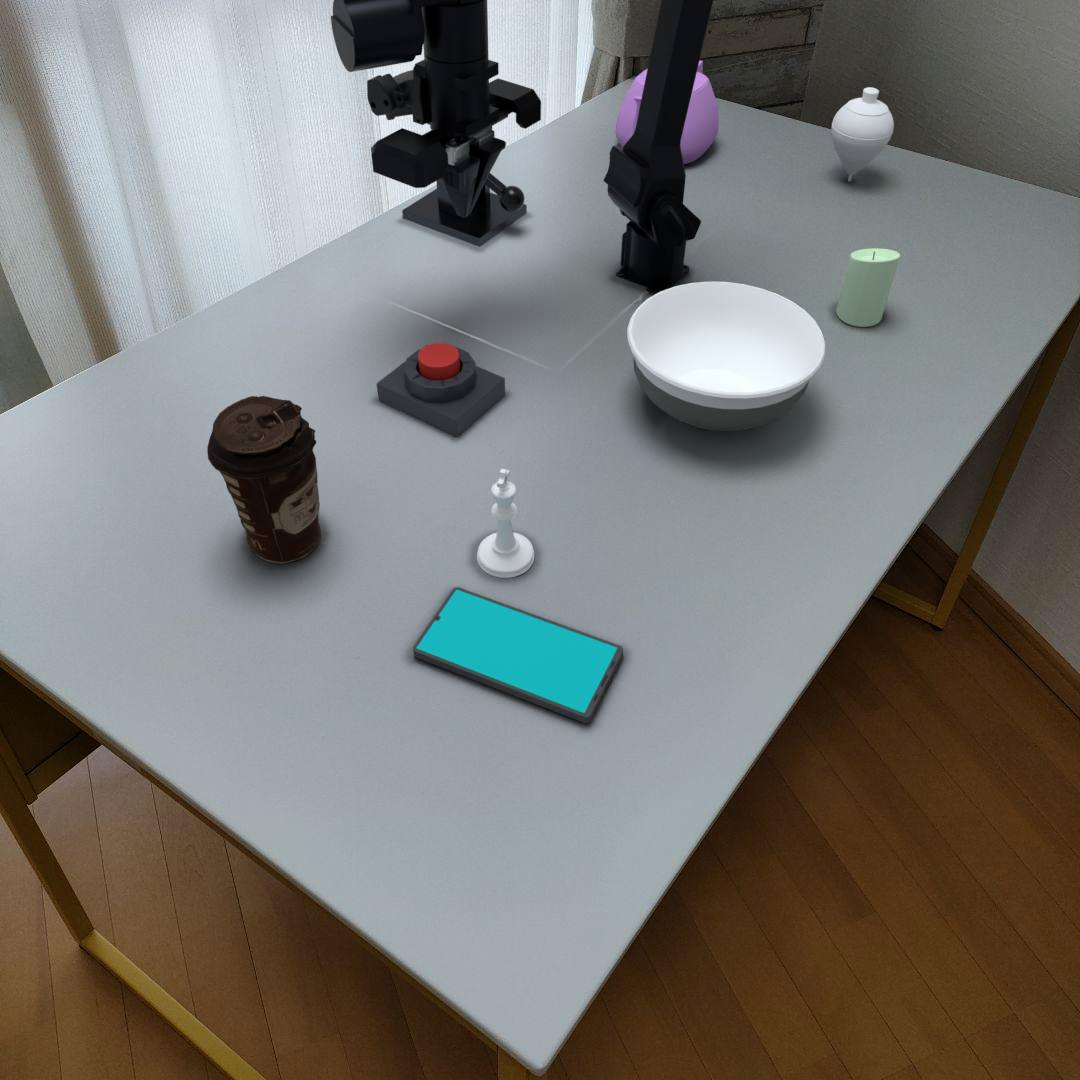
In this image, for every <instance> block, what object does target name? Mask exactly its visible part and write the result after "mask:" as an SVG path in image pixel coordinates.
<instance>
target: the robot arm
mask: <svg viewBox="0 0 1080 1080" xmlns="http://www.w3.org/2000/svg"><path fill="white" fill-rule="evenodd" d="M714 2H715V1H714V0H661V1H660V6H659V11H658V15H657V20H656V26H655V31H654V37H653V41H652V45H651V50H650V54H649V55H650V56H649V59H648V64H647V68H646V69H647V74H646V79H645V84H644V89H643V94H642V99H641V104H640V109H639V114H638V119H637V123H636V128H635V131H634V134H633V135H632V136H631V138H630V139H629V140H628V141H627V142H626V144H625V145H624V146H623V147H622V146H619V145H618V146H617V145H613V146H611V149H610V150H609V163H608V169H607V172H606V174H605V176H604V178H603V182H604V183H605V184H606V185H607V196H608V197H609V199H610V200H611V201H612V203H613V204H614V205H615V206H616V207H617V208H618V210H619V212H620V215H622V216H623V217H625V218H627V220H629V221H628V222H627V223H626V226H625V232H623V233H622V235H621V248H620V250H621V251H620V262H619V263H620V266H621V268H620V269H619V270H618V271H617V272H616V273H615V276H616V277H617V278H619V279H622V280H624V281H628V282H631V283H633V284H636V285H638V286H642V287H644V288H646V290H648V291H650V292H652V293H655V294H657V293H659V292H661V291H664V290H666V289H669V288H672V287H675V286H676V284H677V283H678V282H679V281H681V280H682V279H683V278H684V277H685V276H686V275H687V274H688V273H689V272H690V267H689V265H686V264H685V255H686V247H687V241H691V240H694V239H695V238H696V236H697V234H698V232H699V229H700V227H701V224H702V220H701V219H700V218H699V217H698V216H697V215H696V214H695V213H694V212H692V210H690V209H689V208H688V207H687V206H686V205H685V204H684V200H685V199H684V197H685V188H686V179H687V178H686V177H687V174H686V169H685V164H684V163H683V158H682V152H681V147H680V144H681V137H682V133H683V129H684V124H685V120H686V116H687V112H688V107H689V103H690V99H691V95H692V90H693V86H694V82H695V78H696V73H697V69H698V65H699V61H701V56H702V52H703V47H704V44H705V39H706V35H707V31H708V26H709V22H710V18H711V15H712V9H713V5H714ZM488 12H489V11H488V0H333V2H332V15H330V24H331V30H332V35H333V40H334V45H335V48H336V51H337V54H338V57H339V59H340V61H341V64H342V65H343V67H344V69H345V70H346V71H347V72H349V73H354V72H360V71H365V70H370V69H377V68H383V67H387V66H395V65H400V64H406V63H410V62H413V61H414V60H415V59H416V57H417V56H421V55H423V59H422V60H420V61H417V62H416V63H414V65H413V68H412V69H411V70H406V71H404V72H401V73H399V74H396V75H394V76H393V75H392V74H391V73H385V74H383V75H381V74H378V75H376V76H374V77H372V78H370V79H367V80H366V92H367V93H366V95H367V101H368V104H369V108H370V109H371V110H370V111H371V112H372V113H373V114H374V115H375V116H376V117H379V116H385V118H386V120H387V121H393V120H395V119H396V118H398V117H404V116H405V117H406V116H412V122H413V123H415V124H418V125H421V126H424V125H429V128H430V130H429V131H427V132H425V133H423V134H420V133H417V132H414V131H412V130H408V129H406V128H403V127H401V128H400V129H398V130H396V131H394V132H391V133H390V134H387V135H386V136H385V137H382V138H380V139H378V140H376V141H375V143H374V144H373V145H371V147H370V155H371V163H372V172H373V173H375V174H378V175H379V176H383V177H386V178H389V179H391V180H393V181H396V182H398V183H401V184H404V185H406V186H410V187H412V188H415V189H422V188H425V189H426V188H427V187H429V186H431V185H432V184H434V183H436V181H437V180H439V179H440V178H441V179H442V181H443V183H444V186H445V188H446V190H447V193H448V195H449V197H450V200H451V202H452V204H453V206H454V209H455V211H456V213H457V215H459V216H461V217H464V218H465V217H467V216H468V215H470V213H471V211H472V209H473V207H474V205H475V203H476V200H477V198H478V196H479V194H480V192H481V190H482V187H483V185H484V183H485V181H486V179H487V177H488V175H489V173H491V171H492V170H493V168H494V165H495V163H496V162H497V160H498V158H499V156H500V154H501V152H502V151H503V150H504V149H506V146H507V142H506V141H505V140H503V139H501V138H498V137H495V133H496V132H495V130H493V126H495V125H497V124H499V123H501V122H502V121H503V120H505V119H507V118H508V117H509V115H511V114H512V113H514V114H515V123H516V124H517V125H518V126H519V127H520V128H521V129H525V130H526V129H528V128H530V127H532V126H533V125H535V124H536V123H538V122H540V121H541V120H542V100H541V98H540V97H539V95H538V94H537V92H536V91H535V89H534V88H531V87H527V86H525V85H521V84H518V83H515V82H511V81H508V80H505V79H501V78H496V79H494V80H492V81H490V80H491V79H492V78H494V77H496V76H498V75H499V73H500V72H499V71H500V70H499V62H497V61H494V60H491V59H489V57H490V56H489V20H488V19H489V17H488V14H489V13H488Z"/></svg>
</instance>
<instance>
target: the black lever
mask: <svg viewBox="0 0 1080 1080" xmlns="http://www.w3.org/2000/svg"><path fill="white" fill-rule="evenodd" d="M484 184H485V185H486V186H488V187H489V188H490V191H492V192H494V194H496V195H498V196H500V198H499V199H500V204H501V206H502V207H503V209H505V210H506V211H508V212H516V211H518V210H520V209H521V208H522V206H523V204H525V193H524V192H523V190H522V189H521V188H520V187H519V186H517V185H509V186H506V185H505V184H504V183H503V182H502V181H500V179H498V178H497V177H496V176H494V174H492V173H491V172H490V173H489V175H488V177H487V179H486V181H485V183H484Z"/></svg>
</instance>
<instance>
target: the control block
mask: <svg viewBox="0 0 1080 1080" xmlns="http://www.w3.org/2000/svg"><path fill="white" fill-rule="evenodd" d="M427 345H428V344H425V345H424V346H423V347H425V346H427ZM453 346H454V345H453ZM454 347H455V348H456V349H457V350H458V352H459V359H460V371H459V373H458V374H457V375H456V376H455V377H453V378H449V379H446V380H429V379H427V378H424V377H423V376H422V375H421V374H420V371H419V362H418V353H419V351H420V350H421V349H422V348H419V349H417V350H416V351H414V352H413V353H412V354H410V355H409V356H408V357H406V359H405V361H403V363H401V364H400V365H398V366H397V367H396V368H395V369H393V370H392V371H391V372H390V373H388V374H387V375H386V376H384V377H383V378H382V379H380V380H379V381H378V382H376V390H377V397H378V402H381V403H383V404H385V405H386V406H390V407H391V408H393V409H395V410H397V411H400V412H402V413H404V414H407V415H408V416H410V417H412V418H415V419H417V420H419V421H421V422H423V423H425V424H427V425H430V426H432V427H434V428H436V429H439V430H441V431H443V432H445V433H447V434H449V435H451V436H453V437H456V438H458V437H459V436H461V435H462V434H463V433H465V431H466V430H468V428H470V427H471V426H472V425H474V423H475V422H476V421H478V420H479V419H480V418H481V417H482V416H483V415H484V414H486V413H487V412H488V411H489V410H491V408H492V407H494V406H495V405H496V404H497V403H499V401H501V400H502V399H503V398H504V397H505V396H506V378H505V377H503V376H501V375H499V374H496V373H494V372H492V371H489V370H487V369H484V368H483V367H480V366H478V365H476V361H475V360H474V358H473V357H472V355H471V354H470V353H469V352H468V351H467V350H464V349H462V348H459V347H457V346H454Z"/></svg>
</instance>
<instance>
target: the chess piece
mask: <svg viewBox="0 0 1080 1080" xmlns="http://www.w3.org/2000/svg"><path fill="white" fill-rule="evenodd" d="M510 473H511V470H509V469H505V468H500V471H499V478H498V480H497V482H495V483H494V484H493V485H492V486H491V489H490V492H491V495H492V497H493V498H494V501H495V503H494V504H493V505H492V508H491V515H492V517H494V519H497V528H496V532H493V533H492V534H491V533H490V534H489V535H487V536H486V537H485V538H484V539H483V540H482V541H481V542H480V544H479V546H478V547H477V554H476V560H477V563H478V566H479V567H480V569H481V570H482V571H484V572H485V573H487V574H488V575H490V576H492V577H495V578H501V579H502V578H503V579H509V578H514V577H518V576H520V575H522V574H524V573H526V572H527V571H529V569H531V567H532V566H533V564H534V562H535V552H534V547H533V544H532V542H531V541H530V539H528V538H527V537H526V536H524V535H523V534H521V533H519V532H515V531H514V529H513V524H512V519H514V518H515V517H516V516H517V515H518V507H517V505H516V504H515V503H514V502H513V501H514V498H515V496H516V495H517V486H516V485H515V483H513V482H511V481H508V478H509V477H510V475H511V474H510Z"/></svg>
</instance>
